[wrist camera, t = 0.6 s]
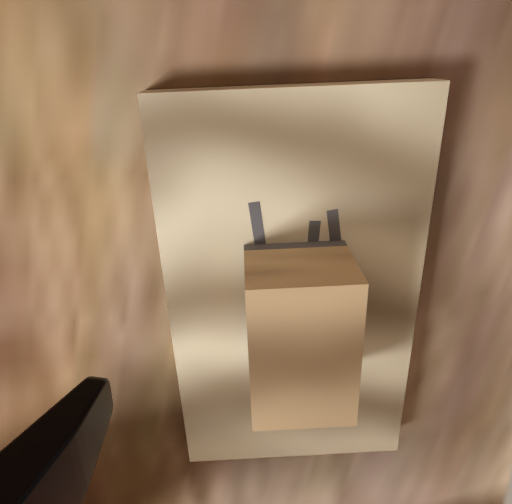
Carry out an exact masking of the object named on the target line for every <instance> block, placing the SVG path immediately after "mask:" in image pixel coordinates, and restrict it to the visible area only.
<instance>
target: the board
mask: <svg viewBox="0 0 512 504" xmlns="http://www.w3.org/2000/svg"><path fill="white" fill-rule="evenodd" d="M449 86H450V80H444V79H437V78H424V79H400V80H375V81H351V82H327V83H302V84H278V85H254V86H229V87H205V88H181V89H156V90H143V91H141V92H139V93H137V98H138V105H139V112H140V119H141V126H142V133H143V140H144V147H145V154H146V161H147V168H148V175H149V182H150V189H151V196H152V203H153V209H154V216H155V223H156V230H157V237H158V244H159V251H160V258H161V265H162V272H163V279H164V286H165V293H166V300H167V307H168V314H169V321H170V328H171V335H172V342H173V349H174V355H175V362H176V369H177V376H178V383H179V390H180V397H181V404H182V411H183V418H184V425H185V432H186V439H187V446H188V453H189V460H190V462H196V461H214V460H232V459H250V458H268V457H286V456H304V455H323V454H341V453H359V452H377V451H395V450H397V447H398V440H399V433H400V426H401V419H402V412H403V406H404V399H405V392H406V385H407V378H408V371H409V364H410V357H411V350H412V343H413V336H414V329H415V322H416V315H417V308H418V301H419V294H420V287H421V280H422V273H423V266H424V260H425V253H426V246H427V239H428V232H429V225H430V218H431V211H432V204H433V197H434V190H435V183H436V176H437V169H438V162H439V155H440V148H441V141H442V134H443V127H444V120H445V114H446V107H447V100H448V93H449ZM338 240H345V242H346V244H347V246H348V247H349V249H350V251H351V253H352V255H353V256H354V258H355V260H356V262H357V264H358V266H359V267H360V269H361V271H362V273H363V275H364V276H365V278H366V280H367V282H368V284H369V287H368V299H367V311H366V322H365V334H364V346H363V358H362V369H361V381H360V393H359V404H358V416H357V426H346V427H328V428H309V429H291V430H273V431H254V432H252V414H251V396H250V377H249V359H248V340H247V322H246V303H245V278H244V245H253V244H274V243H296V242H317V241H338Z"/></svg>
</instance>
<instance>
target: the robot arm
mask: <svg viewBox="0 0 512 504" xmlns="http://www.w3.org/2000/svg"><path fill="white" fill-rule="evenodd" d="M112 409H113V401H112V394H111V387H110V382H109V380H108V379H106V378H101V377H93V376H91V377H87V378H86V379H84V380H83V381H82V382H81V383H80V384H79V385H77V386H76V387H75V388H74V389H73V390H72V391H70V392H69V393H68V394H67V395H66V396H65V397H63V398H62V399H61V400H60V401H59V402H58V403H56V404H55V405H54V406H53V407H52V408H51V409H49V410H48V411H47V412H46V413H45V414H44V415H42V416H41V417H40V418H39V419H38V420H37V421H35V422H34V423H33V424H32V425H31V426H30V427H28V428H27V429H26V430H25V431H24V432H23V433H21V434H20V435H19V436H18V437H17V438H16V439H14V440H13V441H12V442H11V443H10V444H9V445H7V446H6V447H5V448H4V449H3V450H2V451H0V504H82V503H83V500H84V498H85V495H86V493H87V490H88V487H89V484H90V481H91V478H92V475H93V472H94V469H95V466H96V462H97V459H98V456H99V453H100V450H101V446H102V443H103V440H104V437H105V434H106V430H107V427H108V424H109V421H110V418H111V414H112Z"/></svg>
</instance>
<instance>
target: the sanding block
mask: <svg viewBox="0 0 512 504" xmlns="http://www.w3.org/2000/svg"><path fill="white" fill-rule="evenodd" d="M244 278H245V303H246V322H247V340H248V359H249V377H250V396H251V414H252V432H254V431H273V430H291V429H309V428H328V427H346V426H357V416H358V404H359V393H360V381H361V369H362V358H363V346H364V334H365V322H366V311H367V299H368V287H369V284H368V282H367V280H366V278H365V276H364V275H363V273H362V271H361V269H360V267H359V266H358V264H357V262H356V260H355V258H354V256H353V255H352V253H351V251H350V249H349V247H348V246H347V244H346V242H345V240H338V241H317V242H296V243H274V244H253V245H244Z"/></svg>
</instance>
